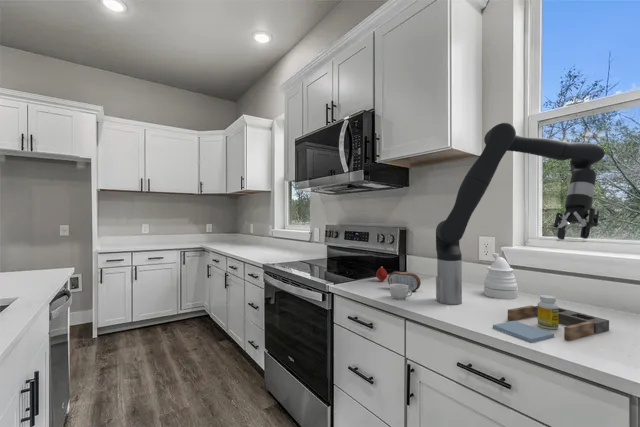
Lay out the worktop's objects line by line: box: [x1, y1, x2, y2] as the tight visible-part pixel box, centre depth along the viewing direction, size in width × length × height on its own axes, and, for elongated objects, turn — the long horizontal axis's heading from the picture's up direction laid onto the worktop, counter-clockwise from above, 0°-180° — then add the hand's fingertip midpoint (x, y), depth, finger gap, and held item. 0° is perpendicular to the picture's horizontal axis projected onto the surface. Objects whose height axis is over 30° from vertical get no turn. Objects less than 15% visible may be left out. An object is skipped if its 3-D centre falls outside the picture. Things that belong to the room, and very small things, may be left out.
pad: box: [492, 320, 555, 344], centre depth 93 cm, size 10×12×1 cm
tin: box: [387, 270, 422, 293], centre depth 145 cm, size 15×3×8 cm, turn 58°
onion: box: [375, 266, 388, 282], centre depth 164 cm, size 6×6×8 cm
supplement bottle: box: [537, 294, 560, 330], centre depth 98 cm, size 5×5×10 cm
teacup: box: [389, 284, 413, 301], centre depth 131 cm, size 10×8×5 cm
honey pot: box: [483, 252, 519, 300], centre depth 136 cm, size 13×13×18 cm
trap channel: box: [507, 305, 610, 342], centre depth 100 cm, size 20×18×4 cm
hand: (571, 238), depth 111 cm, fingers open, 8 cm apart
